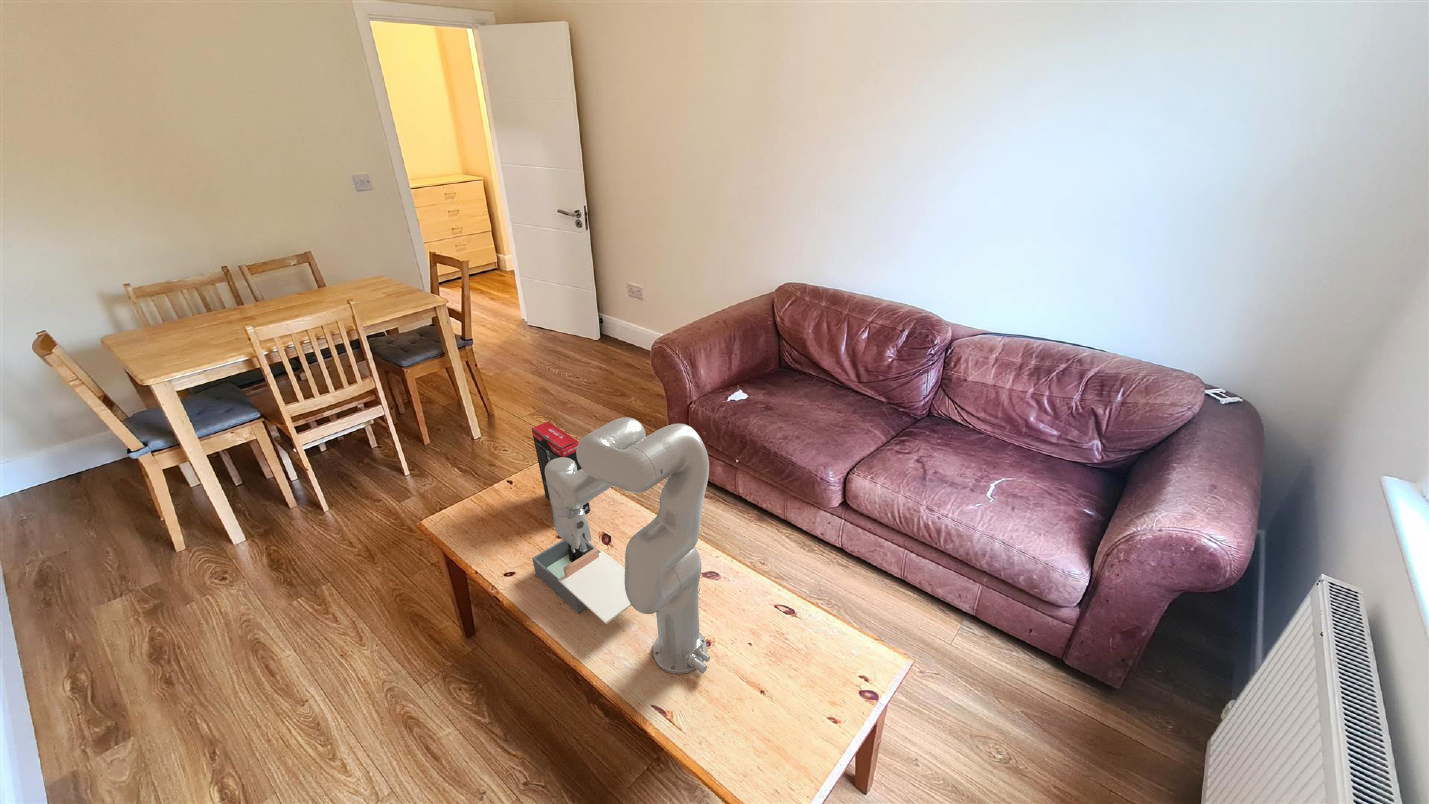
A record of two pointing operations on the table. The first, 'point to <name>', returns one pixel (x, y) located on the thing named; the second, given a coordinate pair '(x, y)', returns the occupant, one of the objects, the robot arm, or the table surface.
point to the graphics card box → (554, 450)
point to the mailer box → (558, 571)
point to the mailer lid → (597, 584)
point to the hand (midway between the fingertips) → (576, 559)
